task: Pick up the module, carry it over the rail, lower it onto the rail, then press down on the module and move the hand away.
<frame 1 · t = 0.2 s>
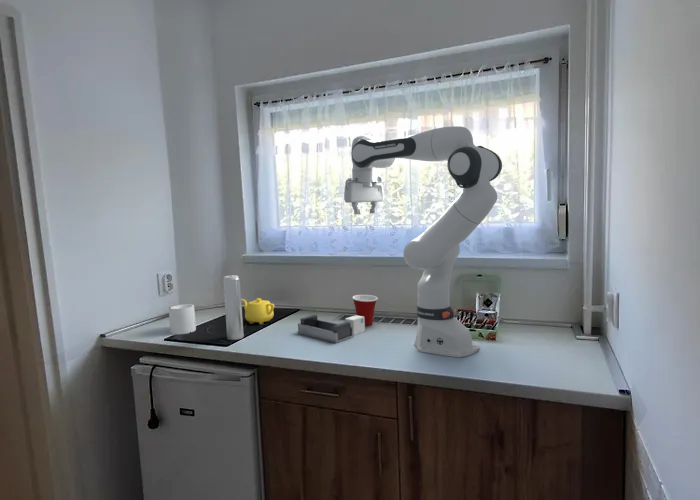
hand: (364, 213, 173), 47 cm above the worktop, fingers open, 8 cm apart
mug: (183, 330, 190), on the worktop
teapot: (258, 322, 199), on the worktop
module: (355, 332, 176), on the worktop
white tall cylinder: (235, 338, 175), on the worktop
plastic cup: (366, 324, 187), on the worktop
rail: (325, 334, 174), on the worktop
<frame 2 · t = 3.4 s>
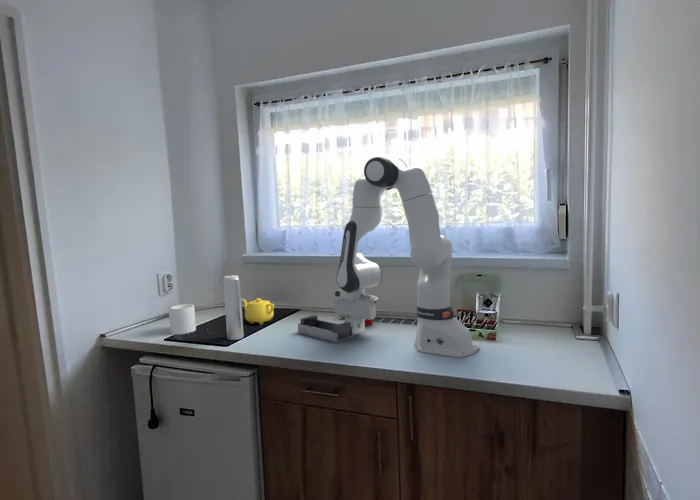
hand: (355, 326, 176), 2 cm above the worktop, fingers closed on module, 5 cm apart
module: (355, 332, 176), on the worktop, touching gripper
everything else where it was.
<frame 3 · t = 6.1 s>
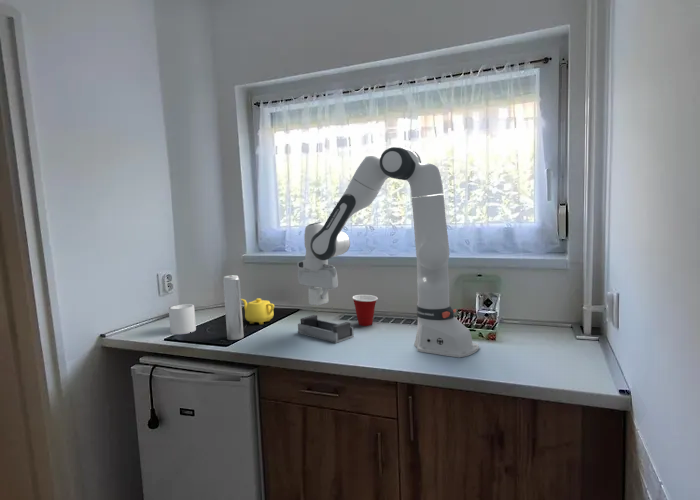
hand: (318, 298, 174), 15 cm above the worktop, fingers closed on module, 4 cm apart
module: (318, 303, 175), point 12 cm above the worktop, touching gripper
everything else where it was.
when the fingers open (4 cm above the worktop, at t = 8.3 s): module stays where it is, resting on rail.
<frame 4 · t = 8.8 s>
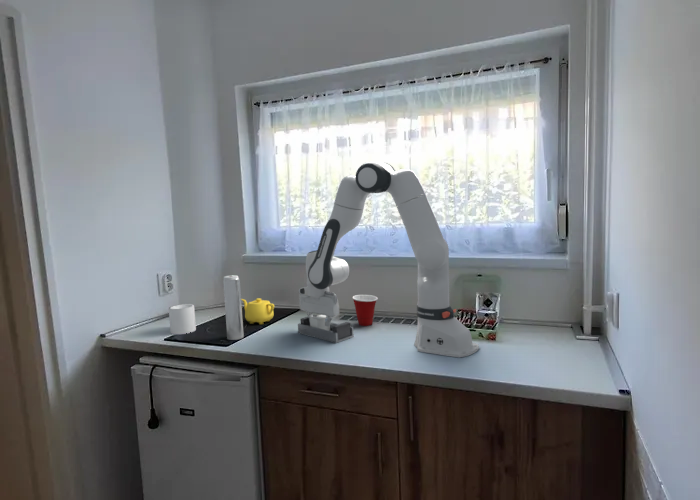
hand: (319, 324, 175), 4 cm above the worktop, fingers open, 8 cm apart
module: (320, 331, 176), point 1 cm above the worktop, touching rail
everything else where it was.
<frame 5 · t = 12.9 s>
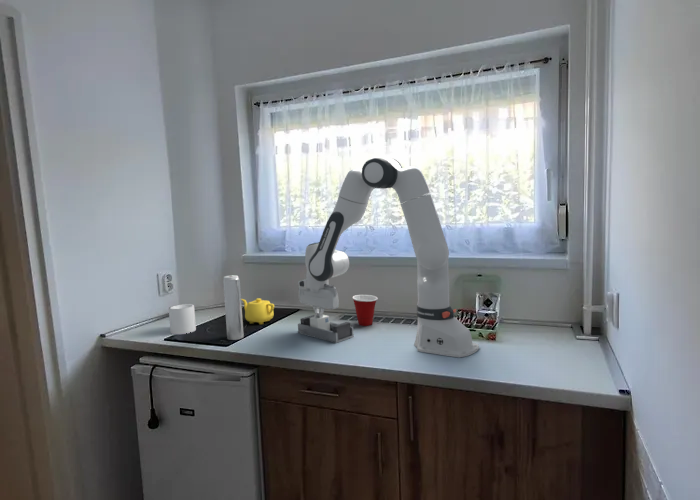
hand: (319, 317, 175), 7 cm above the worktop, fingers closed, pressing on module
module: (320, 331, 176), point 1 cm above the worktop, touching gripper, rail
everything else where it was.
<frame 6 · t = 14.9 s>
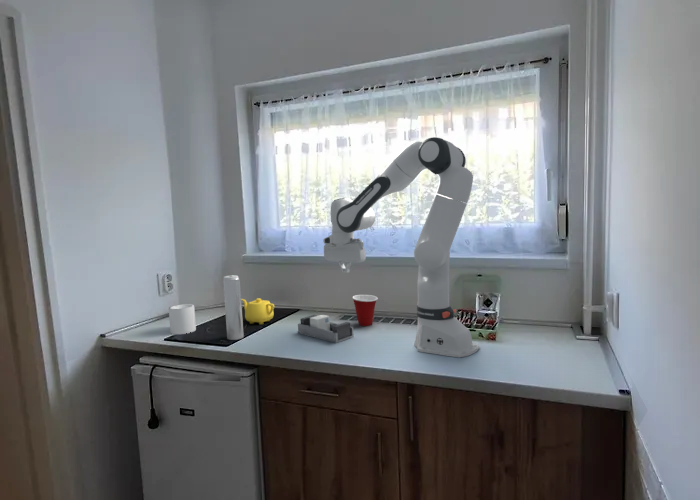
hand: (345, 272, 178), 24 cm above the worktop, fingers closed
module: (320, 331, 176), point 1 cm above the worktop, touching rail
everything else where it was.
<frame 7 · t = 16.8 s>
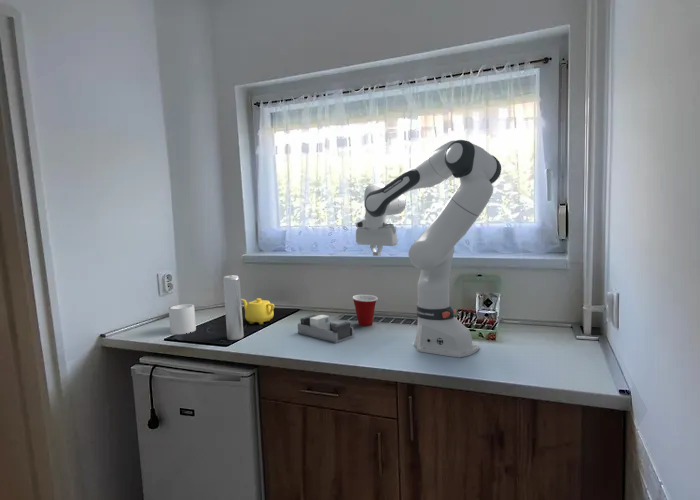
hand: (376, 256, 184), 29 cm above the worktop, fingers closed
nothing on the worktop moved.
at the end: module inside the target area (0.4 cm from its centre), point 0.8 cm above the worktop; module tilted 0°; the gripper is holding nothing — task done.
